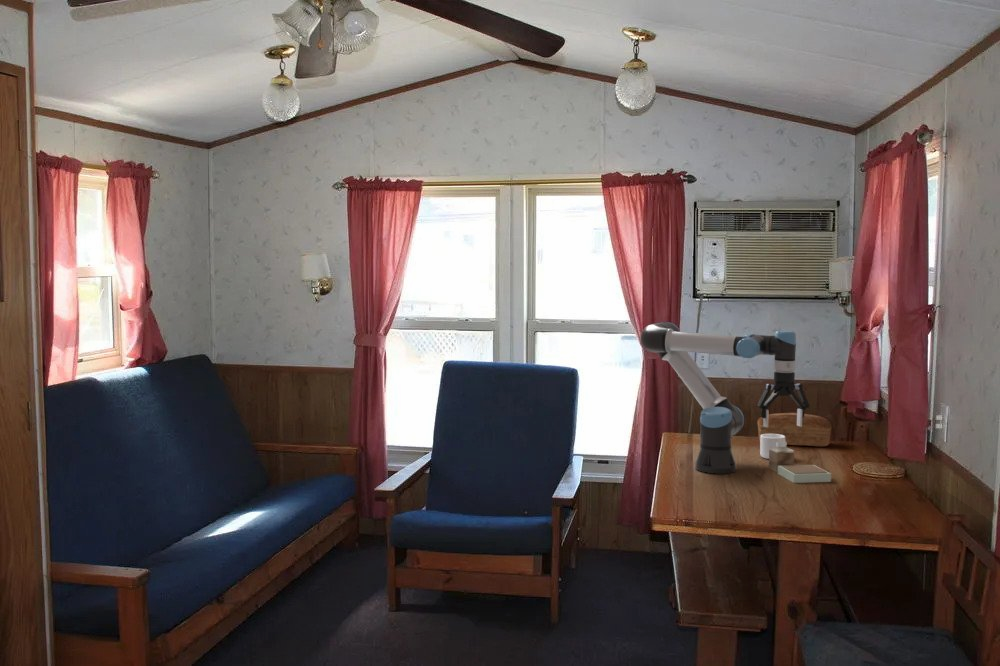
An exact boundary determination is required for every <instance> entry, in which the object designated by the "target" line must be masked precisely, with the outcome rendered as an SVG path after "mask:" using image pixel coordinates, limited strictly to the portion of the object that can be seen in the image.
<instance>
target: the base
mask: <svg viewBox="0 0 1000 666" xmlns="http://www.w3.org/2000/svg"><path fill="white" fill-rule="evenodd" d="M777 474H778V475H779V476H781V477H783V478H784V479H786V480H788V481H790V482H791V483H793V484H797V483H798V484H801V483H803V484H805V483H830V482H832V473H831V472H830V471H829V472H828V471H827V470H825V469H823V468H820V467H819V466H817V465H815V464H794V465H782V466H778V472H777Z"/></svg>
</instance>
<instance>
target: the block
mask: <svg viewBox="0 0 1000 666" xmlns="http://www.w3.org/2000/svg"><path fill="white" fill-rule="evenodd" d="M795 454H796V453H795V450H793V449H791V448H789V447H788V446H786V447H772V448H769V459H768V468H769V469H770V470H772V471H773V472H775V473H778V466H782V465H795Z"/></svg>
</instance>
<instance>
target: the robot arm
mask: <svg viewBox="0 0 1000 666" xmlns="http://www.w3.org/2000/svg"><path fill="white" fill-rule="evenodd" d="M796 340H797V335H796V333H795V332H794V331H791V330H776V331H775V333H774V335H762V334H755V333H753V334H745V335H744V336H737V335H736V336H735V335H733V336H732V335H724V334H713V333H712V334H711V333H698V332H685V331H681V330H680V328H679V327H678V326H677V325H676V324H674V323H672V322H667V321H661V322H658V323H651V324H648V325H647V326H645V327H644V328H643V329H642V332H641V334H640V342H641V345H642V347H643V349H645V350H646V351H647V352H650V353H655V354H657V355H658V356H659V357H660V359H661V360H662V361H666V362H668V363H669V365H670V366H671V368H672V369H673V370H674V371H675V372H676V374H677V375H678V378H680V380H681V381H682V383H683V384H684V385H685V386H686V388H687V389H688V390H689V391H690V393H691V394H692V396H693V397H694V398H695V400H696V401H697V402H698V404H699V405H700V406H701V409H702V410H701V412H700V416H699V425H700V426H699V427H700V428H699V430H700V432H699V433H700V434H699V436H700V437H699V439H700V441H699V442H700V443H699V446H700V447H699V451H698V454H697V456H696V460H695V466H694V468H696V469H697V470H696V469H695V470H696V471H698V470H699V472H701V471H702V473H705V472H707V474H714V473H716V474H719V475H720V474H724V475H725V474H733V473H734V472H736V471H737V468H736V467H737V466H736V465H737V464H736V460H735V459H734V458H735V457H734V455H733V451H732V437H733V436H736V435H737V434H738V433H740V431H741V429H742V428H743V427H744V423H745V416H744V414H743V411H742V410H741V409H740V408H739V407H738V406H735V405H733V404H732V403H731V401H730V399H728V398H727V397H725V396H721V394H720V393H719V392H718V390H717V389H716V388H715V387H714V385H713V384H712V383H711V381H710V380H709V378H708V377H707V375H705V374H704V372H703V371H702V369H701V367H699V366H698V364H697V362H696V361H695V360H694V359H693V357H692V356H691V354H689V353H695V354H696V353H699V354H709V355H720V356H731V357H741V358H743V359H753V358H755V357H757V356H760V355H761V356H762V355H763V356H764V355H765V356H774V363H773V364H774V365H773V368H774V369H773V370H774V371H773V372H774V373H773V384H769V383H765V388H764V390H763V393H762V395H761V396H760V398H759V400H758V403H757V405H756V407H757V408H758V409H761V417H762V418H763V426H765V427H768V417H769V414H770V413H769V412H770V411H769V409H768V408H769V407H770V406H771V405H772V404H773V403H774V401H776V399H777V398H778V397H779V396H780V397H783V396H787V397H788V396H790V398H791V399H792V400H793V401H794V403H795V404H796V405H797V406H798V408H797V409H796V413H797V426H800V427H802V418H804V414H805V410H806V409H809V408H810V406H811V405H810V403H809V401H808V399H807V396H806V393H805V392H804V390H803V388H804V387H803V384H802V383H795V378H796V374H795V370H796V351H797V348H796V347H797V341H796ZM772 390H773V391H772ZM794 390H796V391H797V394H798V396H799V397H798V396H797V395H796V393H795V392H794ZM771 391H772V393H771Z"/></svg>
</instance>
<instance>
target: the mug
mask: <svg viewBox="0 0 1000 666" xmlns="http://www.w3.org/2000/svg"><path fill="white" fill-rule="evenodd" d="M759 446H760V447H759V453H760V457H762V458H763V459H765V460H766V459H767V460H769V448H772V447H788V444H787V443H786V441H785V436H784V435H780V434H762V435H761V436H760V441H759Z"/></svg>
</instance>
